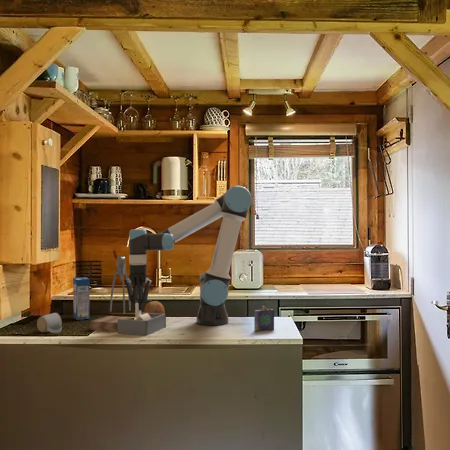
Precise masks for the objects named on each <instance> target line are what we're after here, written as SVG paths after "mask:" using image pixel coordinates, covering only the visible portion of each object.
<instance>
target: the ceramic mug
mask: <svg viewBox="0 0 450 450" xmlns="http://www.w3.org/2000/svg"><path fill="white" fill-rule="evenodd" d="M62 323H63V322H62V317H61V316H60V315H59V313H58V312H53V313H49V314H45V315H41V316H40V317H38V319H37V321H36V327H37V330H39V332H40V333H43V334H44V333H51V334H55V335H57V334H60V333H61V332H62V328H63V327H62Z"/></svg>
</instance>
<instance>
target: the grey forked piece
mask: <svg viewBox="0 0 450 450" xmlns="http://www.w3.org/2000/svg"><path fill="white" fill-rule="evenodd" d="M126 267H127V260H126V257H125V256H123V255H120V256H117V258H116V268H117V269H115V271H114V275H113V278H112V279H113V280H112V283H111V289H110V291H111V292H110V303H109V312H110V313H112V309H113V307H112V306H113V295H114V289H115V288H114V287H115V285H116V283H115V282H116V279H117V275H119V278H120V280H121V281H122V300H123V301H122V303H123V305H122V306H123V308H122V309H123V315H125V314H126V299H125V298H126V295H125V294H126V293H125V282H124V280H126V279H128V278H129V276H128V272H127V269H126ZM124 275H125V277H124ZM124 278H125V279H124ZM127 298H128V310H129V312H130V311H131V310H132V309H131V301H130V300H129V296H128V295H127Z"/></svg>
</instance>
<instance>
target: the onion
mask: <svg viewBox="0 0 450 450" xmlns="http://www.w3.org/2000/svg"><path fill="white" fill-rule="evenodd" d="M165 311H166V310H165V307H164V305H163V303H161V302H159V301H158V300H153V301H149V302H148V303H146V304H145V307H144V308H143V313H157V314H166V313H165Z"/></svg>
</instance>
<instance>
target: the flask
mask: <svg viewBox="0 0 450 450" xmlns="http://www.w3.org/2000/svg"><path fill="white" fill-rule="evenodd" d="M253 312H254V313H253V314H254V330H253V331H254V332H265V331H268V332H269V331H275V309H273V308H270V307H269V308H267V307H266V305H262V307H261V309H256V310H254V311H253Z"/></svg>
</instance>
